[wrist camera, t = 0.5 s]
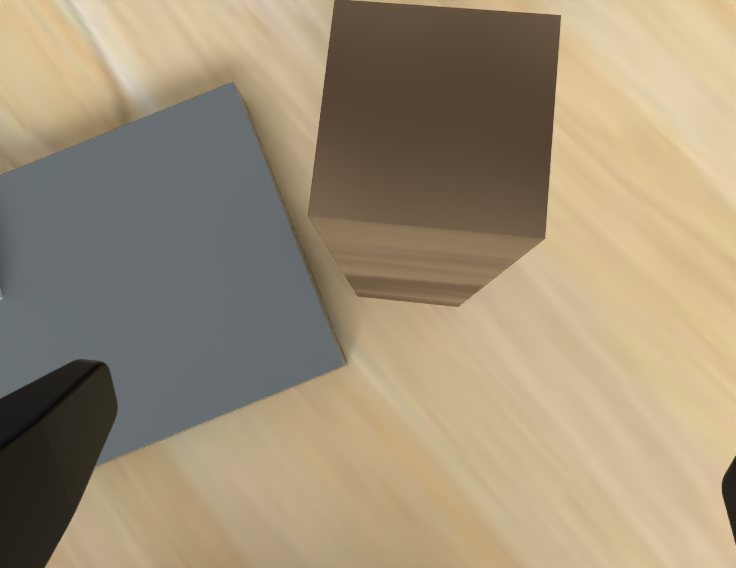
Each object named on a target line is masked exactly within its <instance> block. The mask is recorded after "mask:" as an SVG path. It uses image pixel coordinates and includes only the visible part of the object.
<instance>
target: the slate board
mask: <svg viewBox="0 0 736 568" xmlns="http://www.w3.org/2000/svg"><path fill="white" fill-rule="evenodd" d="M0 288H1V291H2V295H3V299H1V300H0V398H2V397H4V396H6V395H8V394H10V393H11V392H13V391H15V390H17V389H19V388H21V387H23V386H25V385H27V384H29V383H31V382H33V381H35V380H37V379H39V378H40V377H42V376H44V375H46V374H48V373H50V372H52V371H54V370H56V369H58V368H60V367H62V366H64V365H66V364H67V363H69V362H71V361H74V360H76V359H87V360H96V361H102V362H105V363H106V364H107V365H108V366H109V369H110V372H111V376H112V380H113V385H114V389H115V393H116V397H117V401H118V411H117V416H116V419H115V422H114V424H113V427H112V429H111V431H110V433H109V436H108V438H107V440H106V443H105V445H104V447H103V450H102V452H101V454H100V457H99V459H98V461H97V464H96V466H98V465H101V464H103V463H106V462H108V461H111V460H113V459H116V458H118V457H121V456H123V455H126V454H128V453H131V452H133V451H136V450H138V449H141V448H143V447H146V446H148V445H150V444H153V443H155V442H158V441H160V440H163V439H165V438H168V437H170V436H173V435H175V434H178V433H180V432H183V431H185V430H188V429H190V428H193V427H195V426H198V425H200V424H202V423H205V422H207V421H210V420H212V419H215V418H217V417H220V416H222V415H225V414H227V413H230V412H232V411H235V410H237V409H240V408H242V407H245V406H247V405H250V404H252V403H255V402H257V401H259V400H262V399H264V398H267V397H269V396H272V395H274V394H277V393H279V392H282V391H284V390H287V389H289V388H292V387H294V386H297V385H299V384H302V383H304V382H307V381H309V380H312V379H314V378H316V377H319V376H321V375H324V374H326V373H329V372H331V371H334V370H336V369H339V368H341V367H344V366H346V365H347V363H346V361H345V358H344V355H343V353H342V350H341V348H340V345H339V343H338V340H337V337H336V335H335V332H334V330H333V327H332V325H331V322H330V319H329V317H328V314H327V312H326V309H325V307H324V304H323V302H322V299H321V296H320V294H319V291H318V289H317V286H316V284H315V281H314V278H313V276H312V273H311V271H310V268H309V266H308V263H307V260H306V258H305V255H304V253H303V250H302V248H301V245H300V243H299V240H298V237H297V235H296V232H295V230H294V227H293V225H292V222H291V219H290V217H289V214H288V212H287V209H286V207H285V204H284V202H283V199H282V196H281V194H280V191H279V189H278V186H277V184H276V181H275V178H274V176H273V173H272V171H271V168H270V166H269V163H268V160H267V158H266V155H265V153H264V150H263V148H262V145H261V143H260V140H259V137H258V135H257V132H256V130H255V127H254V125H253V122H252V119H251V117H250V114H249V112H248V109H247V107H246V104H245V101H244V99H243V97H242V96H241V94H240V92H239V90H238V89H237V87H236V85H235V84H234V82H231V83H229V84H226V85H224V86H221V87H219V88H216V89H214V90H211V91H209V92H206V93H204V94H201V95H199V96H196V97H194V98H192V99H189V100H187V101H184V102H182V103H179V104H177V105H174V106H172V107H169V108H167V109H164V110H162V111H159V112H157V113H154V114H152V115H149V116H147V117H144V118H142V119H139V120H137V121H134V122H132V123H129V124H127V125H124V126H122V127H119V128H117V129H114V130H112V131H109V132H107V133H104V134H102V135H100V136H97V137H95V138H92V139H90V140H87V141H85V142H82V143H80V144H77V145H75V146H72V147H70V148H67V149H65V150H62V151H60V152H57V153H55V154H52V155H50V156H47V157H45V158H42V159H40V160H37V161H35V162H32V163H30V164H27V165H25V166H22V167H20V168H17V169H15V170H12V171H10V172H7V173H5V174H3V175H0ZM96 466H95V467H96Z"/></svg>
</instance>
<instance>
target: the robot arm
mask: <svg viewBox="0 0 736 568" xmlns="http://www.w3.org/2000/svg"><path fill="white" fill-rule="evenodd" d="M117 411H118V401H117V397H116V393H115V389H114V385H113V380H112V376H111V372H110V369H109V366H108V365H107V364H106V363H105V362H102V361H96V360H87V359H76V360H74V361H71V362H69V363H67V364H66V365H64V366H62V367H60V368H58V369H56V370H54V371H52V372H50V373H48V374H46V375H44V376H42V377H40V378H39V379H37V380H35V381H33V382H31V383H29V384H27V385H25V386H23V387H21V388H19V389H17V390H15V391H13V392H11V393H10V394H8V395H6V396H4V397H2V398H0V568H45V566H46V564H47V563H48V561H49V559H50V557H51V555H52V554H53V552H54V550H55V548H56V547H57V545H58V543H59V541H60V539H61V538H62V536H63V534H64V532H65V530H66V529H67V527H68V525H69V523H70V521H71V519H72V517H73V515H74V513H75V511H76V509H77V507H78V505H79V503H80V501H81V498H82V496H83V494H84V491H85V489H86V487H87V484H88V482H89V480H90V478H91V475H92V473H93V471H94V468H95V466H96V464H97V461H98V459H99V457H100V454H101V452H102V450H103V447H104V445H105V443H106V440H107V438H108V436H109V433H110V431H111V429H112V427H113V424H114V422H115V419H116V416H117ZM722 495H723V499H724V503H725V506H726V510H727V514H728V518H729V521H730V525H731V529H732V533H733V536H734V540H735V544H736V456H735V458H734V459H733V461H732V463H731V464H730V466H729V468H728V470H727V471H726V473H725V475H724V477H723V481H722Z"/></svg>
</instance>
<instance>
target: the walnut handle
mask: <svg viewBox="0 0 736 568" xmlns="http://www.w3.org/2000/svg"><path fill="white" fill-rule="evenodd" d="M560 21H561V15H549V14H535V13H521V12H507V11H493V10H479V9H465V8H450V7H436V6H422V5H408V4H394V3H380V2H366V1H351V0H335V1H334V9H333V17H332V25H331V33H330V41H329V49H328V57H327V65H326V73H325V81H324V89H323V97H322V105H321V113H320V121H319V130H318V138H317V146H316V154H315V162H314V170H313V178H312V186H311V194H310V202H309V210H308V217H309V219H310V221H311V222H312V224H313V225H314V227H315V229H316V230H317V232H318V233H319V235H320V237H321V238H322V240H323V241H324V243H325V245H326V246H327V248H328V249H329V251H330V253H331V254H332V256H333V257H334V259H335V260H336V262H337V264H338V265H339V267H340V268H341V270H342V272H343V273H344V275H345V276H346V278H347V280H348V281H349V283H350V284H351V286H352V288H353V289H354V291H355V292H356V294H357V296H359V297H369V298H379V299H388V300H398V301H408V302H417V303H427V304H437V305H446V306H456V307H458V306H460V305H461V304H462V303H464V302H465V301H466V300H467V299H469V298H470V297H471V296H472V295H474V294H475V293H476V292H478V291H479V290H480V289H481V288H483V287H484V286H485V285H487V284H488V283H489V282H490V281H492V280H493V279H494V278H495V277H497V276H498V275H499V274H501V273H502V272H503V271H504V270H506V269H507V268H508V267H509V266H511V265H512V264H513V263H515V262H516V261H517V260H518V259H520V258H521V257H522V256H524V255H525V254H526V253H527V252H529V251H530V250H531V249H532V248H534V247H535V246H536V245H538V244H539V243H540V242H541V241H543V240H544V239H545V231H546V217H547V203H548V189H549V175H550V161H551V147H552V133H553V119H554V105H555V91H556V77H557V63H558V49H559V35H560Z"/></svg>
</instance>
